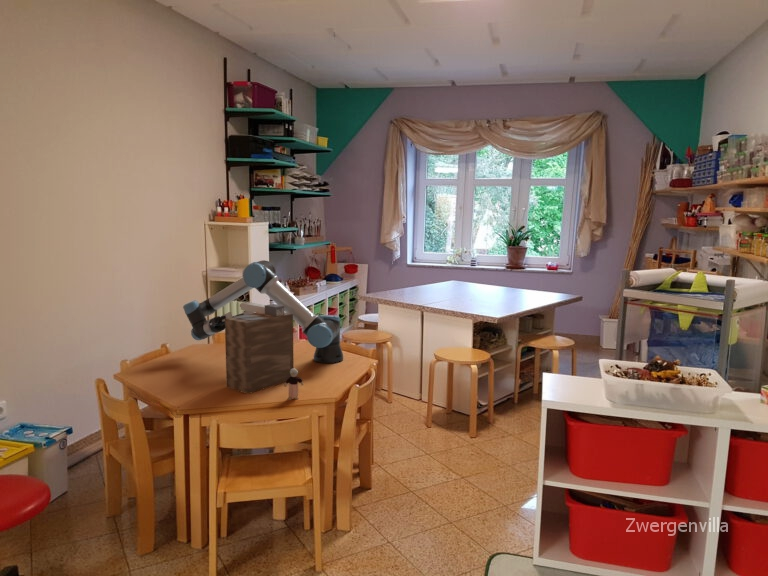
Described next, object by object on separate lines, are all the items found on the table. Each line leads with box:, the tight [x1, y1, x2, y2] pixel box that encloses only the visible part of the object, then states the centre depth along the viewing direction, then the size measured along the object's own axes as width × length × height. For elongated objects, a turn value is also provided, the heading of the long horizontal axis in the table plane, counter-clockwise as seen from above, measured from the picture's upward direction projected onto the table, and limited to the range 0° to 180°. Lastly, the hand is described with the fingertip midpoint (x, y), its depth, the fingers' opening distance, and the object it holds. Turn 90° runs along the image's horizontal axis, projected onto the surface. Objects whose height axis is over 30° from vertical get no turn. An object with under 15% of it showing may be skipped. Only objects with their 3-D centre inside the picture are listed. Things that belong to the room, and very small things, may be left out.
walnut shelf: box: [224, 311, 295, 395], centre depth 244 cm, size 14×26×30 cm, turn 143°
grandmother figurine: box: [284, 367, 304, 401], centre depth 226 cm, size 8×4×13 cm, turn 114°
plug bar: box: [239, 301, 285, 316], centre depth 250 cm, size 26×5×4 cm, turn 53°
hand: (242, 312), depth 261 cm, fingers open, 13 cm apart
